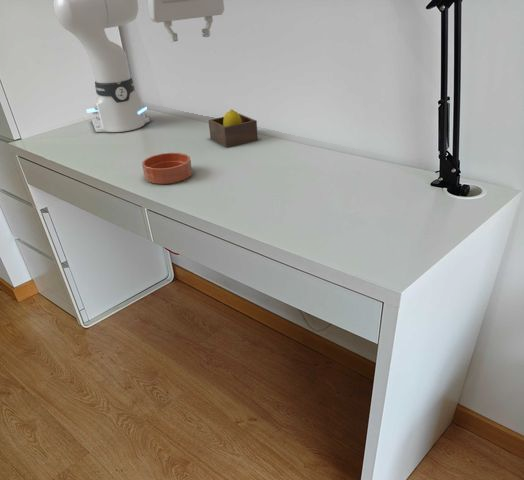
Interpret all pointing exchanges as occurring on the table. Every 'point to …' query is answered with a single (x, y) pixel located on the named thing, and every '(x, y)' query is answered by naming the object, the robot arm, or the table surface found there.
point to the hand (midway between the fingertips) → (190, 38)
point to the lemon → (231, 118)
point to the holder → (233, 131)
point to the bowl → (167, 168)
